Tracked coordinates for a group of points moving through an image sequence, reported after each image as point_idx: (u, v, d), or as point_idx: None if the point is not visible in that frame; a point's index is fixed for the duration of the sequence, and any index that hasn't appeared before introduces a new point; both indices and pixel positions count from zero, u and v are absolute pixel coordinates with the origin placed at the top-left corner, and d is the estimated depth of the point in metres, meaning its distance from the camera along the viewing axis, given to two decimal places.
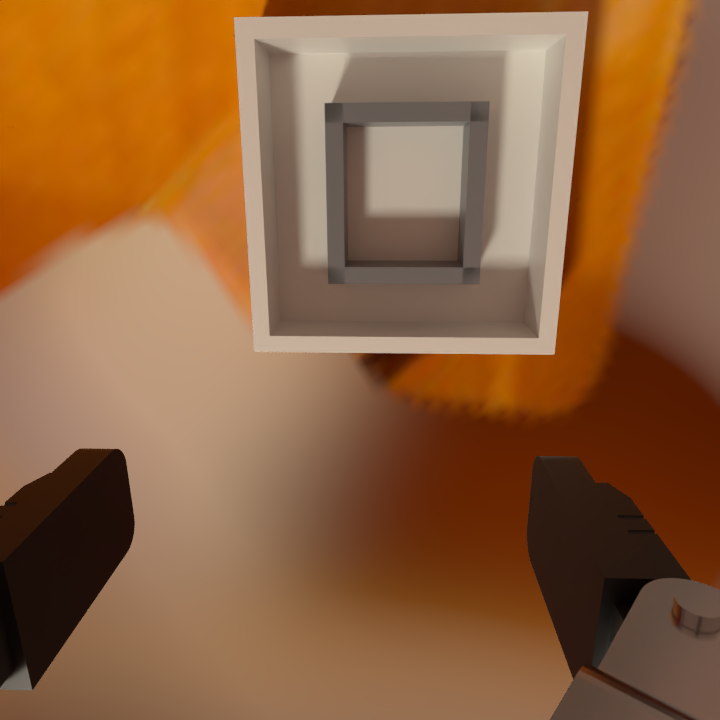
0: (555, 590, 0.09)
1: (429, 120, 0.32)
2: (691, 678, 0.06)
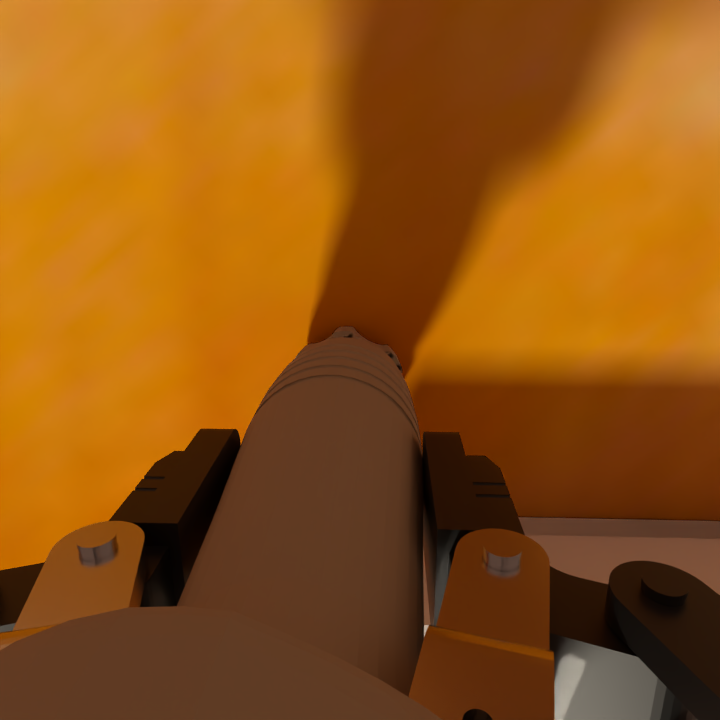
0: (426, 550, 0.10)
1: None
2: (508, 611, 0.07)
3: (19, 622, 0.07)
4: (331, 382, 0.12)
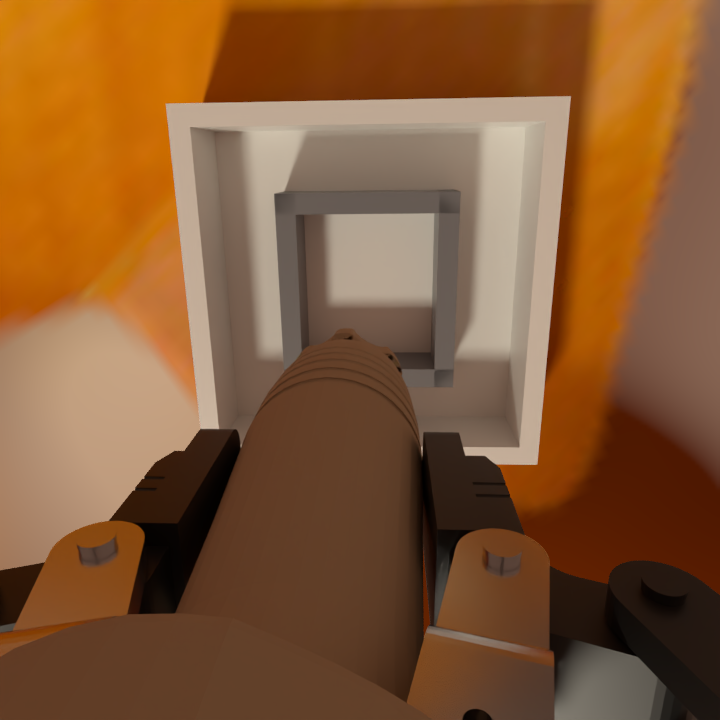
0: (426, 550, 0.10)
1: (393, 212, 0.28)
2: (508, 612, 0.07)
3: (20, 622, 0.07)
4: (330, 384, 0.12)
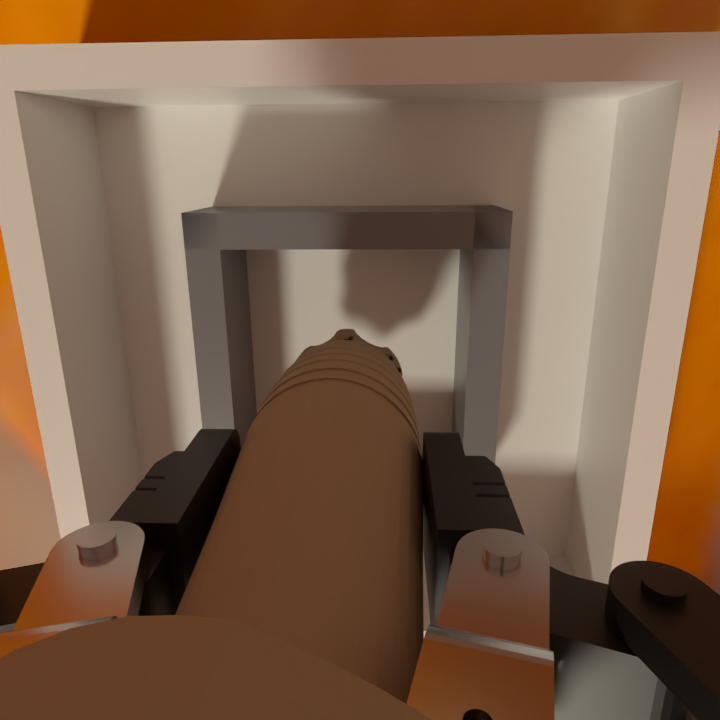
0: (426, 550, 0.10)
1: (391, 247, 0.16)
2: (508, 611, 0.07)
3: (21, 621, 0.07)
4: (331, 385, 0.12)
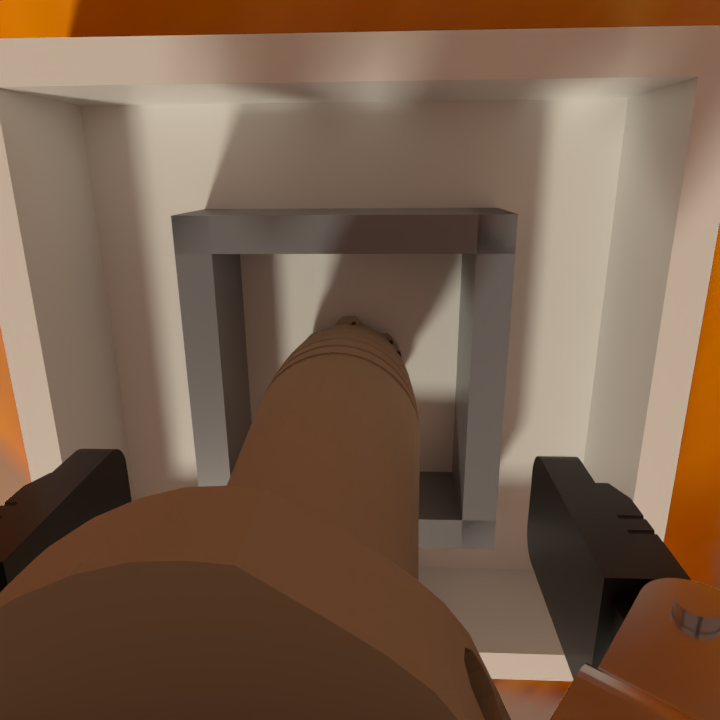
0: (555, 590, 0.09)
1: (391, 251, 0.15)
2: (691, 678, 0.06)
3: None
4: (336, 358, 0.13)
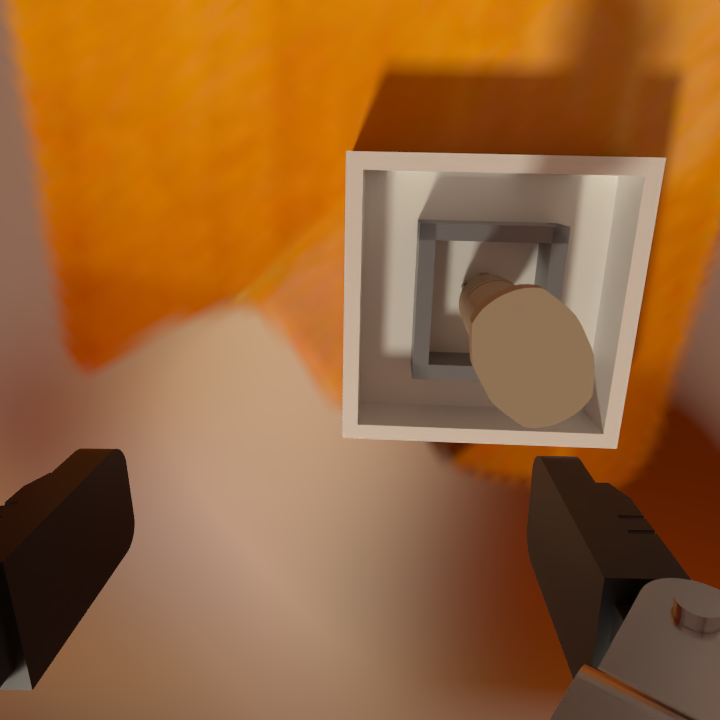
0: (555, 590, 0.09)
1: (514, 241, 0.35)
2: (692, 679, 0.06)
3: None
4: (500, 281, 0.33)
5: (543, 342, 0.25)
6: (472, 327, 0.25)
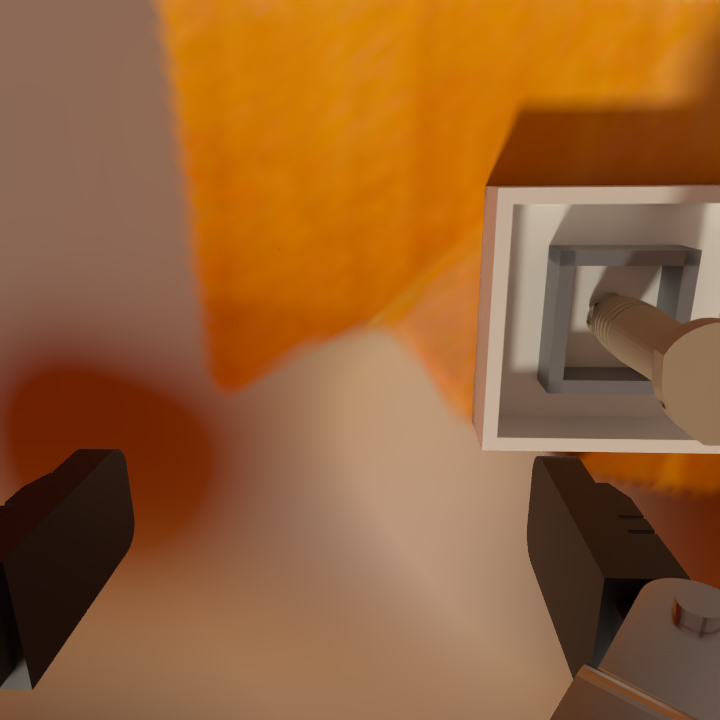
0: (555, 590, 0.09)
1: (649, 264, 0.38)
2: (691, 679, 0.06)
3: None
4: (646, 305, 0.36)
5: None
6: (663, 358, 0.28)
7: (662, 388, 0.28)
